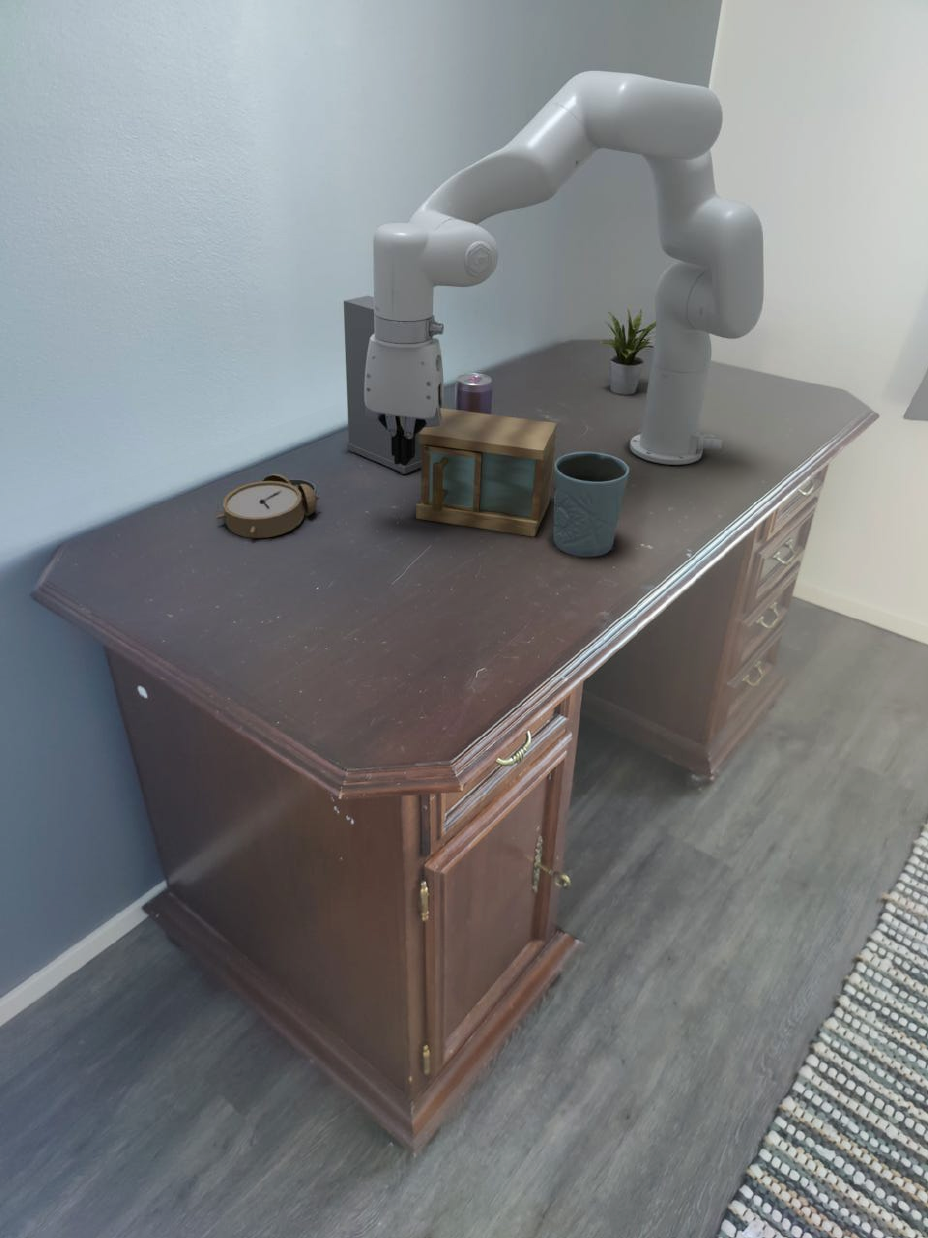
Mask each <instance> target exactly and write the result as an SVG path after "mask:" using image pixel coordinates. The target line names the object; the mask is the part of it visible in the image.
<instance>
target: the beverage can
mask: <svg viewBox="0 0 928 1238" xmlns="http://www.w3.org/2000/svg"><path fill="white" fill-rule="evenodd" d="M493 387H494V386H493V379H492V378H491V377H490V376H489V375H486V374H482V373H474V372H472V373H471V372H469V373H462V374H460V375H458V376H457V377H456V382H455V385H454V407H453V408H454V409H453V410H460V411H467V412H475V413H483V414H491V415H492V407H493V390H494V388H493Z"/></svg>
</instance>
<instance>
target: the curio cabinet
mask: <svg viewBox="0 0 928 1238" xmlns="http://www.w3.org/2000/svg"><path fill="white" fill-rule="evenodd" d="M440 411H441V416H442V423H441V424H440V425H439V426H436V427H424V428H423V429H422V430H421V432H420V433H419V443H421V444H422V458H421V468H420V470H421V471H420V472H421V474H420V475H421V476H420V483H421V484H420V503H416V505H415V509H416V510H415V518H416V519H417V520H425V521H430V522H437V523H444V524H449V525H456V526H463V527H467V528H468V527H469V528H474V529H475V528H476V529H482V530H489V531H495V532H500V533H501V532H502V533H508V534H514V535H520V536H527V537H534V538H535V537H536V535H537V533H538V530H539V528H540V525H541V523H542V521H543V518H544V517H545V514H546V511H547V509H548V507H549V504H550V499H551V490H552V479H553V471H554V458H555V448H556V439H557V427H558V422H553V421H545V420H537V419H536V420H535V419H529V418H522V417H521V418H520V417H512V416H505V415H497V414H492V413H491V414H483V413H475V412H467V411H460V410H454V409H451V408H443V407H442V408H440ZM426 444H428V445H435V446H443V447H450V448H457V449H465V450H472V451H479V452H482V470H481V490H480V510H479V513H477V512H471V511H464V510H457V509H451V508H444V507H442V510H441V511H433V510H432V506H431V505H424V446H425V445H426Z"/></svg>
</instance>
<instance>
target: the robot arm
mask: <svg viewBox="0 0 928 1238" xmlns="http://www.w3.org/2000/svg"><path fill="white" fill-rule="evenodd" d="M723 120H724V119H723V108H722V105H721V101H720V100H719V98H718V96H717V94H715V92H714V91H712V90H711V89H710V88H708V87H706V86H702V85H698V84H697V85H696V84H690V83H684V82H678V81H670V80H667V79H666V80H665V79H661V78H657V77H651V76H647V75H642V74H636V73H630V72H615V71H604V70H587V71H582V72H580V73H578V74H576V75H574V76H573V77H572V78H570V79H569V80H568V81H567V82H566V83H565V84H564V85H563V86H562V87H561V88H560V89H559V90H558V91H557V93H555V95H554V96H552V97H551V99H550V100H548V102H547V103H546V104H545V105H544V106H543V107H542V108H541V109H540V110H539V111H538V112H537V113H536V115H534V116H533V118H531V119H530V121H528V123H527V124H526V125H525V126H524V127H522V129H521V130H520V131H519V132H518V133H517V134H516V135H515V136H514V138H512V139H511V140H510V141H509V142H508V143H507V144H506V145H505V146H503V147H502V148H499V149H498V150H496V151H494V152H491V153H489V154H488V155H486V156H484V157H482V158H481V159H478V160H477V161H476V162H474V163H472V164H470V165H469V166H467V167H465V168H463V169H461V170H459V171H458V172H457V173H455V174H454V175H452V176H451V177H449V178H448V179H447V180H445V181H444V182H443V183H442V184H441V185H439V186H438V188H436V189H435V190H434V191H433V192H432V193H431V194H430V196H428V197H427V199H425V200H424V201H423V203H422V204H421V205H420V206H419V207H418V208H417V210H415V212H414V213H413V214H412V216H411V217H410V219H409V220H408V222H390V223H384V224H382V225H380V226H378V227H377V228H376V230H375V231H374V232H373V233H374V234H373V238H372V239H373V240H372V248H373V249H372V255H373V256H372V257H373V259H372V260H373V265H372V266H373V297H374V326H375V334H373V335H372V336H371V337H370V341H369V346H368V353H367V360H366V369H365V385H364V398H365V405H366V410H365V415H366V416H367V417H369V418H372V419H374V420H377V421H380V422H381V424H382V425H383V426H384V427H385V428H386V429H387V430H388V434H389V435H390V436H391V454H392V456H394V464H397V465H399V464H400V463H401V464H402V465H404V466H406V465H407V464H408V462H409V461H410V460H411V459H412V458H414V456H415V435H416V434H417V433H418V432H419V431H420V430H421V429H423V428H424V427H436V426H439V425H440V424H441V423H442V416H441V411H440V408H443V406H444V402H445V384H444V367H443V358H442V357H443V355H442V349H441V344H440V340H439V338H436V337H434V336H437V335H441V336H442V335H443V334H444V331H445V327H444V323H440V322H438V321H436V319H435V315H434V292H435V291H434V288H435V287H454V288H469V287H474V286H477V285H480V284H482V283H484V282H485V281H487V280H488V279H489V278H490V277H491V276H492V275H493V273H494V272H495V270H496V268H497V265H498V261H499V248H498V245H497V243H496V240H495V239H494V237H493V235H492V234H491V233H490V232H489V231H487V230H486V229H485V228H484V227H482V226H480V225H478V224H480V223H481V222H483V221H485V220H488V218H491V217H493V216H496V215H498V214H501V213H505V212H509V211H514V210H520V209H524V208H529V207H533V206H536V205H539V204H541V203H544V202H547V201H549V200H550V199H552V198H553V197H554V196H555V195H556V194H557V193H558V192H559V190H560V189H561V188H563V186H564V185H565V184H566V183H567V182H568V181H569V180H570V179H571V178H572V177H573V176H574V175H575V174H576V173H577V172H578V171H579V169H580V168H581V167H582V166H583V165H584V164H586V162H587V161H588V160H589V159H590V158H591V157H592V156H593V155H594V153H596V152H598V151H599V150H600V149H606V150H611V151H617V152H624V153H629V154H630V153H631V154H636V155H641V156H642V157H643V158H644V160H645V161H646V163H647V165H648V167H649V168H650V172H651V176H652V181H653V188H654V198H655V208H656V218H657V227H658V237H659V243H660V246H661V249H662V251H663V252H664V253H665V254H666V256H669V257H670V258H672V259H675V260H677V262H675V263H672V264H671V265H669V266H668V267H667V268H666V269H665V270H664V271H663V272H662V274H661V276H660V277H659V279H658V281H657V283H656V288H655V294H654V295H655V297H654V305H655V306H654V307H655V321H656V327H655V332H656V333H654V334H655V335H654V336H655V337H654V344H653V346H654V348H653V352H652V359H651V364H650V369H649V377H648V384H647V388H646V389H647V390H646V398H645V403H644V410H643V416H642V423H641V429H640V433H639V434H636V435H635V436H633V437H631V439H630V443H629V449H630V451H631V452H632V454H634V455H635V456H636V457H638V458H639V459H642V460H644V461H648V462H651V463H655V464H660V465H669V466H680V465H688V464H693V463H695V462H698V461H699V460H700V459H702V456H703V452H704V449H706V450H711V451H716V452H721V451H722V449H723V443H724V439H717V435H715V434H703V432H702V431H700V430H701V425H700V419H701V414H702V409H703V403H704V397H705V392H706V387H707V382H708V377H709V373H710V372H709V371H710V367H711V361H712V354H713V349H712V347H713V346H712V339H711V335H713V336H716V337H720V338H723V339H729V340H735V339H741V338H744V337H745V336H747V335H748V334H749V333H750V332H752V331H753V329H754V328H755V327H756V325H757V323H758V321H759V319H760V316H761V315H762V310H763V305H764V294H765V293H764V292H765V286H764V285H765V283H764V282H765V281H764V279H765V277H764V276H765V275H764V267H765V266H764V232H763V226H762V223H761V220H760V217H759V215H758V214H757V211H755V210H754V209H753V208H752V207H751V206H750V205H748V204H746V203H744V202H741V201H737V200H733V199H727V198H723V197H720V196H719V194H718V193H717V190H716V184H715V176H714V175H715V174H714V166H713V158H712V153H711V148H713V146H714V145H715V143H716V142H717V141H718V139H719V136H720V133H721V130H722V126H723ZM401 416H402V417H407V421H406V427H405V430H403V427H402V420H401Z"/></svg>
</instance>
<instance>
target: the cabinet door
mask: <svg viewBox="0 0 928 1238" xmlns="http://www.w3.org/2000/svg"><path fill="white" fill-rule="evenodd" d="M481 470H482V452H479V451H472V450H465V449H457V448H450V447H443V446H435V445H428V444H426V445H425V446H424V505H431V506H432V510H433V511H441V510H442V507H444V508H451V509H457V510H464V511H471V512H477V513H479V510H480V490H481Z"/></svg>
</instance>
